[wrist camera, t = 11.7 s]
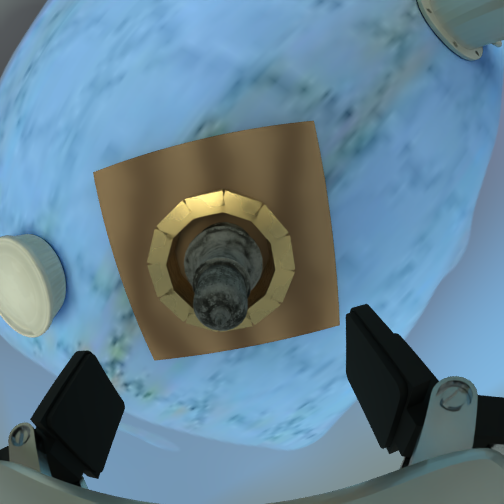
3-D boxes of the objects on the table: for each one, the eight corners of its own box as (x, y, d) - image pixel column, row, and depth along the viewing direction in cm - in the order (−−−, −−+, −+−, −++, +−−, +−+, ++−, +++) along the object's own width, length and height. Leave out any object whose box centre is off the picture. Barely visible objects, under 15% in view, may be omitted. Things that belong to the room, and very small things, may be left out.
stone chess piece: (215, 205, 22) (198, 234, 11) (271, 244, 24) (309, 307, 12) (178, 260, 23) (136, 334, 12) (232, 295, 25) (236, 388, 13)
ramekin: (12, 298, 24) (-11, 315, 19) (10, 216, 21) (-19, 225, 16) (74, 329, 26) (54, 353, 21) (77, 240, 23) (49, 255, 18)
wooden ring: (272, 178, 22) (280, 179, 19) (292, 297, 25) (301, 315, 22) (146, 207, 22) (132, 212, 18) (179, 319, 25) (173, 339, 22)
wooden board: (310, 122, 22) (313, 120, 21) (336, 320, 27) (339, 325, 26) (98, 172, 21) (93, 172, 20) (156, 354, 27) (154, 360, 26)
